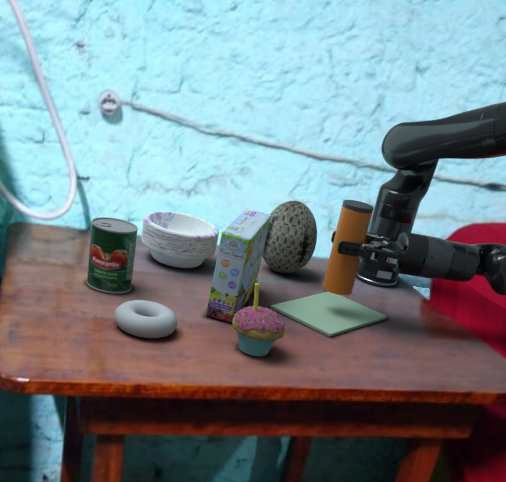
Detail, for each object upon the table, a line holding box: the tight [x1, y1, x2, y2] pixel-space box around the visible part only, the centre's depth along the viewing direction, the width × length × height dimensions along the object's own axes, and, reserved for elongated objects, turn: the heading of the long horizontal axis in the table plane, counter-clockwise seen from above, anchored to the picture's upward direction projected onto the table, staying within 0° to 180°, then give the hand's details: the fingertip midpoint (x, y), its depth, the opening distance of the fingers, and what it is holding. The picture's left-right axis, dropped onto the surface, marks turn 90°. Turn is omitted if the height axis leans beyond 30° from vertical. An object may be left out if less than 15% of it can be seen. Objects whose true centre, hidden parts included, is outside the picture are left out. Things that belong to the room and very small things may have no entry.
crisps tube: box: [322, 199, 374, 296], centre depth 136 cm, size 6×6×16 cm
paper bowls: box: [140, 210, 220, 269], centre depth 150 cm, size 15×15×8 cm
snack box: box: [205, 207, 271, 324], centre depth 134 cm, size 21×6×15 cm, turn 168°
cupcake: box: [231, 278, 286, 357], centre depth 117 cm, size 9×8×12 cm
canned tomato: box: [86, 216, 139, 295], centre depth 129 cm, size 8×8×11 cm
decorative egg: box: [262, 200, 318, 274], centre depth 155 cm, size 12×12×15 cm
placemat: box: [269, 291, 387, 338], centre depth 142 cm, size 20×14×1 cm
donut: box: [114, 299, 178, 339], centre depth 118 cm, size 10×4×10 cm
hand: (335, 241), depth 135 cm, fingers closed on crisps tube, 5 cm apart
